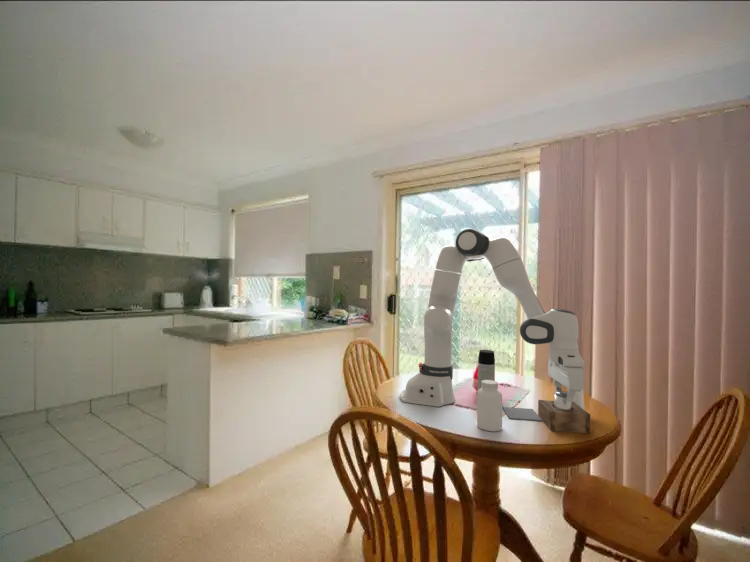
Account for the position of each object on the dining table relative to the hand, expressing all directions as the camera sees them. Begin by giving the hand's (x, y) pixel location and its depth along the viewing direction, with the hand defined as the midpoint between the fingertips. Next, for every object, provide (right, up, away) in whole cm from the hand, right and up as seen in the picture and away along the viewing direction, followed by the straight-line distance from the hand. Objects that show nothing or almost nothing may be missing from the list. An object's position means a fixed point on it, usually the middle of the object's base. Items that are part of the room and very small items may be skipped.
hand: (563, 396), depth 116 cm
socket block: (0, -9, 0) cm, 9 cm away
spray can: (-19, -10, +25) cm, 32 cm away
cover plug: (0, -9, 0) cm, 9 cm away
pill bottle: (-27, -9, -3) cm, 28 cm away
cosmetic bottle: (+9, -10, +9) cm, 16 cm away
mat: (-11, -9, +8) cm, 17 cm away
